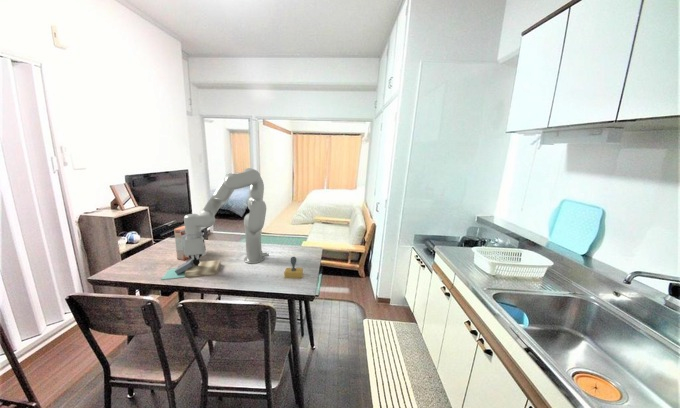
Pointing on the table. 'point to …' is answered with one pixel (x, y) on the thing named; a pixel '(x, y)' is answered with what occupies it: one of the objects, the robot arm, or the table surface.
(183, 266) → the blue-grey flat block
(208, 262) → the deck
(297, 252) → the table surface
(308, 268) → the table surface
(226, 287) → the table surface
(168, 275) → the mat
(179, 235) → the cracker box
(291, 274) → the rubber stamp
